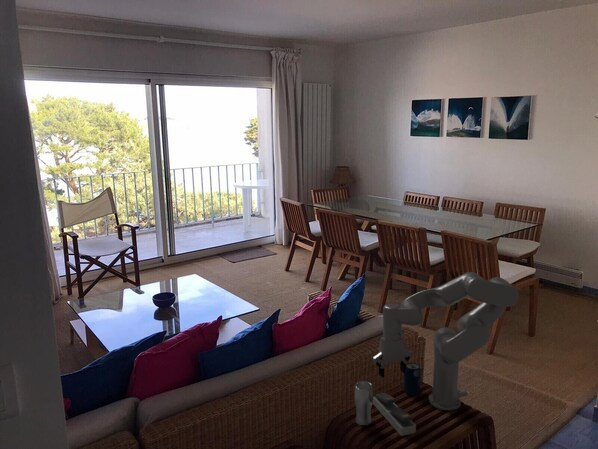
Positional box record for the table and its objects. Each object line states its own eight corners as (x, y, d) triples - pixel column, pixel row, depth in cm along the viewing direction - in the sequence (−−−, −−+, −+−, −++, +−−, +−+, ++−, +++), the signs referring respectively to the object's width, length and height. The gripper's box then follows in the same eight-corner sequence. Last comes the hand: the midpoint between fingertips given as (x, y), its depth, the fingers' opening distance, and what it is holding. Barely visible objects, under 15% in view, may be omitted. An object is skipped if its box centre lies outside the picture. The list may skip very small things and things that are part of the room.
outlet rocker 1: (384, 395, 197) (384, 392, 197) (396, 402, 188) (396, 398, 188) (376, 397, 196) (375, 394, 196) (387, 404, 187) (387, 400, 187)
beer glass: (372, 427, 181) (372, 390, 178) (353, 425, 182) (353, 389, 180) (373, 417, 188) (373, 381, 185) (355, 415, 189) (355, 380, 186)
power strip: (372, 403, 197) (372, 396, 197) (385, 401, 199) (386, 394, 198) (401, 436, 176) (401, 428, 175) (415, 432, 177) (415, 425, 177)
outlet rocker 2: (399, 410, 186) (399, 406, 186) (413, 419, 177) (412, 416, 177) (390, 411, 185) (389, 408, 185) (403, 421, 175) (403, 418, 175)
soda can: (422, 395, 203) (423, 368, 201) (406, 396, 202) (407, 370, 200) (416, 386, 210) (417, 361, 207) (401, 388, 209) (402, 362, 207)
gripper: (406, 328, 199) (406, 366, 202) (368, 334, 194) (369, 373, 197) (416, 334, 192) (415, 374, 195) (377, 341, 187) (377, 382, 190)
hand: (392, 374), depth 196 cm, fingers open, 9 cm apart
